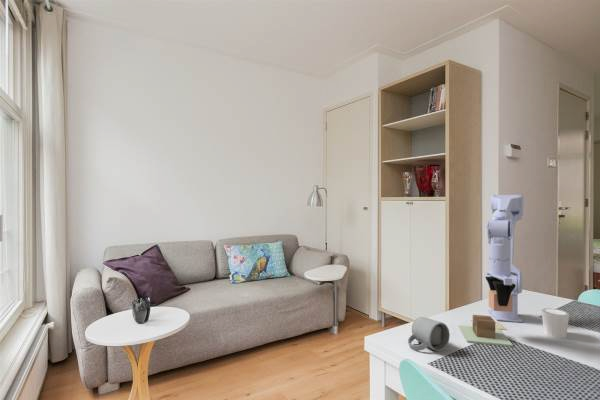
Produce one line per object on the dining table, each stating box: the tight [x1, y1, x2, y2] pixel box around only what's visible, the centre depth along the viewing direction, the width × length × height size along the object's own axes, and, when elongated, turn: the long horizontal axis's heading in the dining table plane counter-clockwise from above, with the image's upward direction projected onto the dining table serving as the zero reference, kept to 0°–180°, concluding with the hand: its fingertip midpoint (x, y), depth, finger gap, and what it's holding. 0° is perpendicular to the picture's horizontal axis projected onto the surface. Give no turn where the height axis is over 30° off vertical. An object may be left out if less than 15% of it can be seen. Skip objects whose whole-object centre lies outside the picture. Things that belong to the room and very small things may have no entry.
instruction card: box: [470, 319, 507, 331], centre depth 111 cm, size 6×9×1 cm, turn 76°
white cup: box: [541, 307, 570, 339], centre depth 103 cm, size 7×7×7 cm
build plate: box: [457, 325, 514, 347], centre depth 102 cm, size 12×12×1 cm
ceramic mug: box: [407, 316, 451, 352], centre depth 95 cm, size 11×8×8 cm
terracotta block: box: [488, 289, 512, 312], centre depth 103 cm, size 5×5×5 cm
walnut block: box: [472, 314, 496, 338], centre depth 102 cm, size 5×5×5 cm
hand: (499, 302), depth 103 cm, fingers closed on terracotta block, 5 cm apart
